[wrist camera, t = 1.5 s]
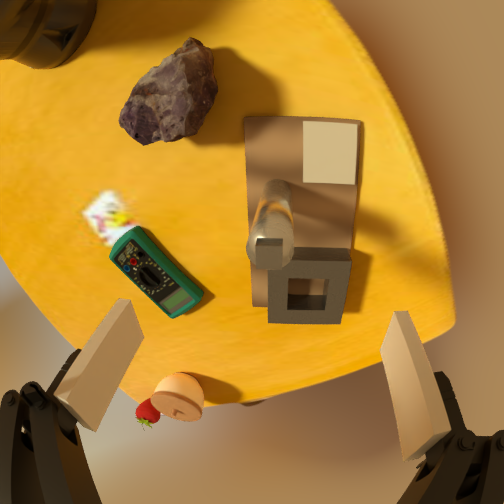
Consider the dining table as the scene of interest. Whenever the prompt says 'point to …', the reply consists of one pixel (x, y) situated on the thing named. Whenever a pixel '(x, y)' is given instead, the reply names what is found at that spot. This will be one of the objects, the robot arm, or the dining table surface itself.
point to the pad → (329, 152)
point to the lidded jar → (179, 397)
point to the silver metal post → (272, 228)
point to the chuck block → (310, 306)
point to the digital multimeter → (154, 273)
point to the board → (296, 194)
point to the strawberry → (147, 413)
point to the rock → (172, 96)
